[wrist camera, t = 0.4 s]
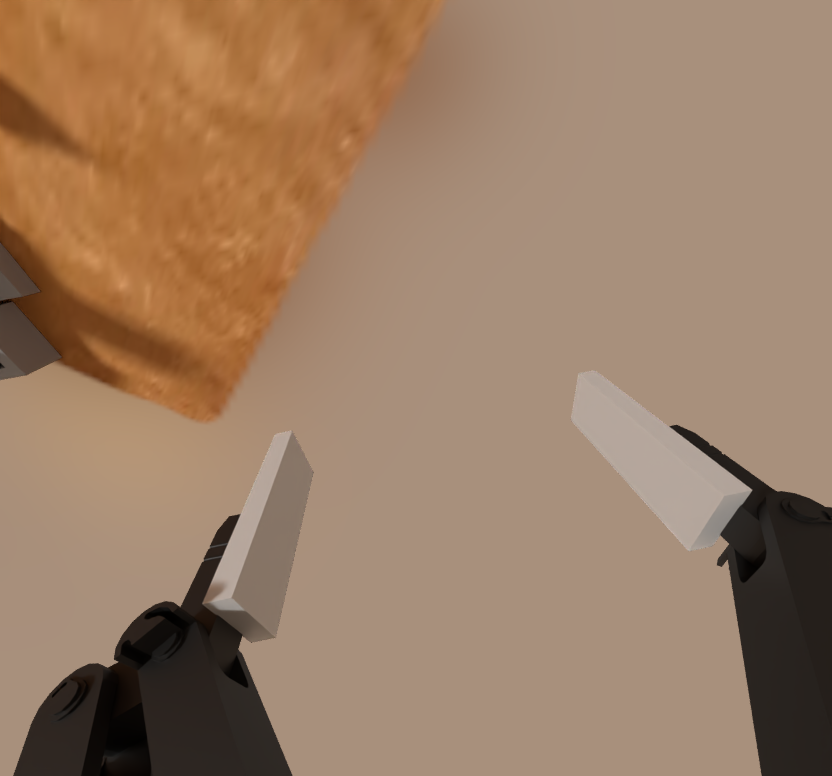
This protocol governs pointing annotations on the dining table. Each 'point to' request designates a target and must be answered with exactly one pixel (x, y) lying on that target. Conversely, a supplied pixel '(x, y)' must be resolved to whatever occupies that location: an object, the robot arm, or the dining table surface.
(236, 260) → the dining table surface
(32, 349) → the housing
